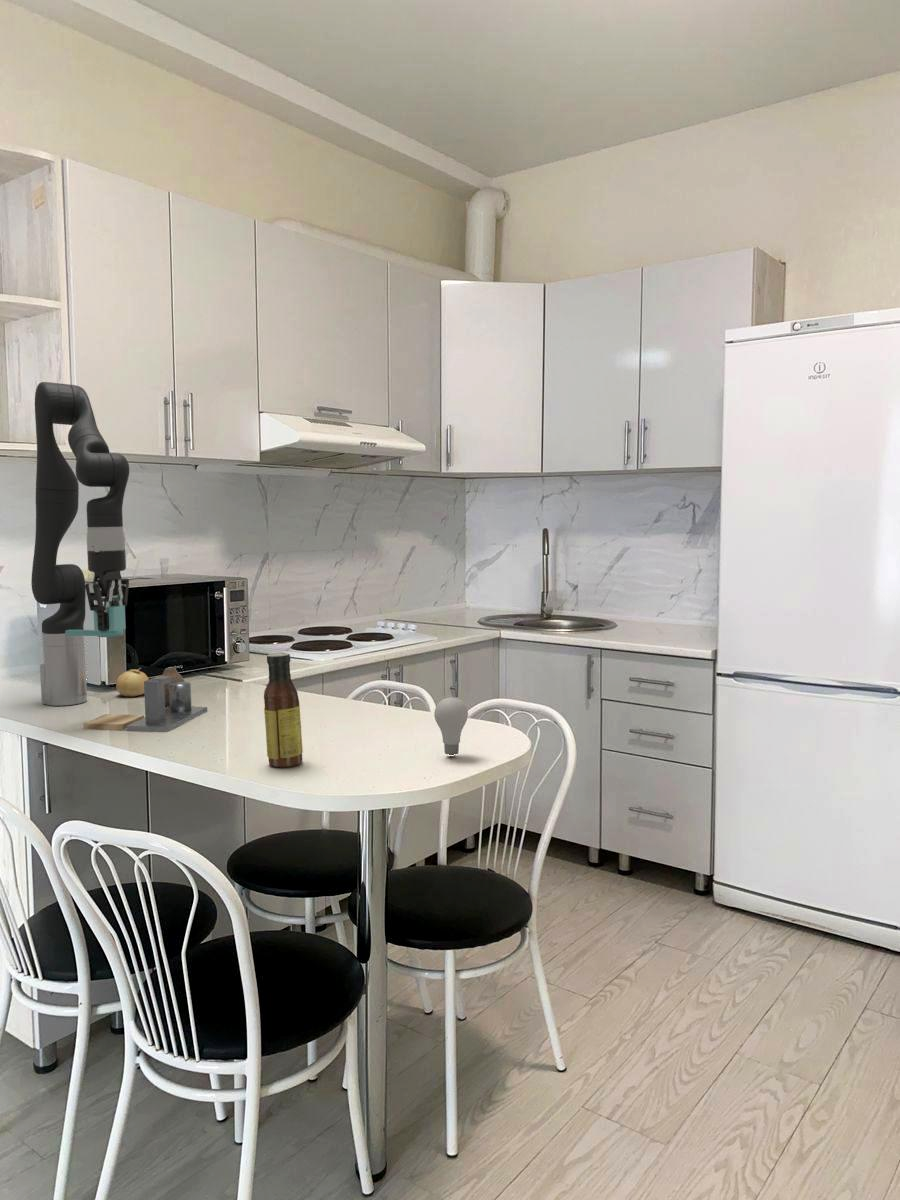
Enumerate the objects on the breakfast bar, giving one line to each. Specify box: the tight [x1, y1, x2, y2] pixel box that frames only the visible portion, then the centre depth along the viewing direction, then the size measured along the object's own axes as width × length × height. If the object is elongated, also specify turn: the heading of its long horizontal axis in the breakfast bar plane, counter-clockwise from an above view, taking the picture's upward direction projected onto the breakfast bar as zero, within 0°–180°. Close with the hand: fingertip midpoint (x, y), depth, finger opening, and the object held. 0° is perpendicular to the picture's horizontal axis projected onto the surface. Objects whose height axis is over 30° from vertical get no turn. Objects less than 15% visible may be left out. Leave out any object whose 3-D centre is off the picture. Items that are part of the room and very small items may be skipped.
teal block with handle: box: [65, 606, 127, 638], centre depth 195 cm, size 5×12×6 cm, turn 81°
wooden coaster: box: [82, 713, 145, 731], centre depth 196 cm, size 9×9×1 cm
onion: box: [115, 667, 150, 698], centre depth 228 cm, size 8×8×7 cm
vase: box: [161, 667, 186, 708], centre depth 216 cm, size 7×7×9 cm
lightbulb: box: [433, 697, 469, 755], centre depth 166 cm, size 6×6×11 cm
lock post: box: [126, 675, 208, 733], centre depth 199 cm, size 9×20×10 cm, turn 171°
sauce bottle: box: [263, 652, 304, 768], centre depth 162 cm, size 6×6×20 cm
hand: (110, 628), depth 194 cm, fingers closed on teal block with handle, 4 cm apart
